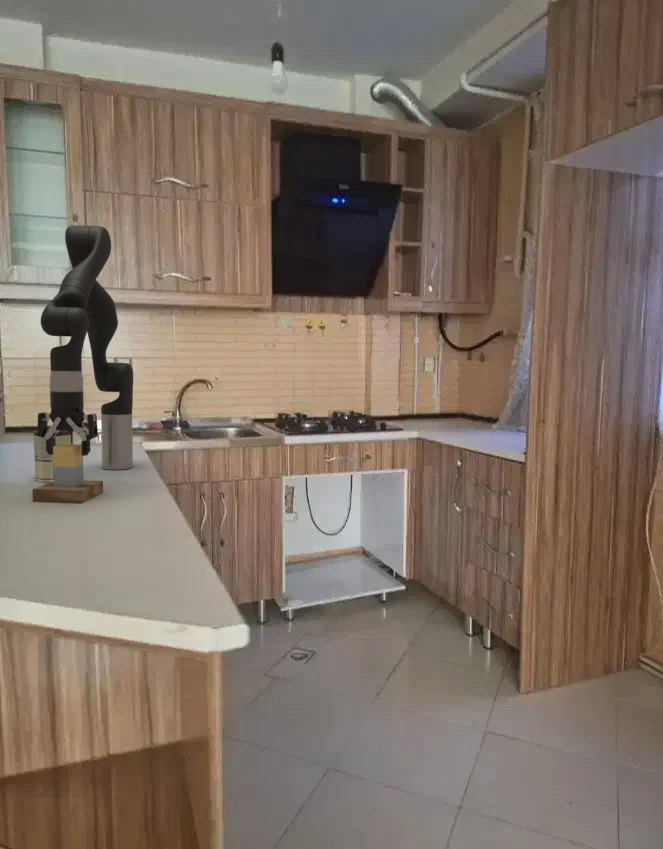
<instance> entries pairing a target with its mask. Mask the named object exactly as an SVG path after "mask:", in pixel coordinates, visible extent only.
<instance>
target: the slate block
mask: <svg viewBox="0 0 663 849" xmlns="http://www.w3.org/2000/svg"><path fill="white" fill-rule="evenodd" d="M84 481H85V479H84V463H83V464H82V465H79V466H76V467H54V487H76V486H79V485H81V484H83V483H84Z"/></svg>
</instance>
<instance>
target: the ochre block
mask: <svg viewBox="0 0 663 849" xmlns="http://www.w3.org/2000/svg"><path fill="white" fill-rule="evenodd" d="M53 462H54V467H76V466H79V465H82V464H83V465H84V456H82V447H81V444H80V443H73V444H61V445H57V446H53Z"/></svg>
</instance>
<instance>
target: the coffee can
mask: <svg viewBox="0 0 663 849" xmlns="http://www.w3.org/2000/svg"><path fill="white" fill-rule="evenodd" d="M49 428H50V427H49ZM49 428H48V427H47V432H48V431H49ZM32 433H33V447H34V448H33V449H34V450H33V451H34V453H33V454H34V473H35V474H34V475H35V479H34V481H36V482H38V483H39V482H41V483H50V482H53V481H54V462H53V455H48V452H47V451H46V440H45V438H42V437H38V435H37V429H33V431H32ZM73 434H74V431H67V430H64V431H59V432H58V433H57V434H56V435H55V437H54V438H53V439H55V446H57V445H61V444H74V436H73Z"/></svg>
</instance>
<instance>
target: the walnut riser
mask: <svg viewBox="0 0 663 849" xmlns="http://www.w3.org/2000/svg"><path fill="white" fill-rule="evenodd" d="M31 491H32V502H38V503H60V504H61V503H62V504H63V503H64V504H68V503H69V504H82V503H85V502H87V501H89V500H91V499H93V498H95V497H97V496H99V495H101V494H103V493H104V481H103V480H84V483H83V484H81V485H79V486H76V487H54V481H53V482H47V483H45V484H42V485H40V486H38V487H35V488H32V490H31Z"/></svg>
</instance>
